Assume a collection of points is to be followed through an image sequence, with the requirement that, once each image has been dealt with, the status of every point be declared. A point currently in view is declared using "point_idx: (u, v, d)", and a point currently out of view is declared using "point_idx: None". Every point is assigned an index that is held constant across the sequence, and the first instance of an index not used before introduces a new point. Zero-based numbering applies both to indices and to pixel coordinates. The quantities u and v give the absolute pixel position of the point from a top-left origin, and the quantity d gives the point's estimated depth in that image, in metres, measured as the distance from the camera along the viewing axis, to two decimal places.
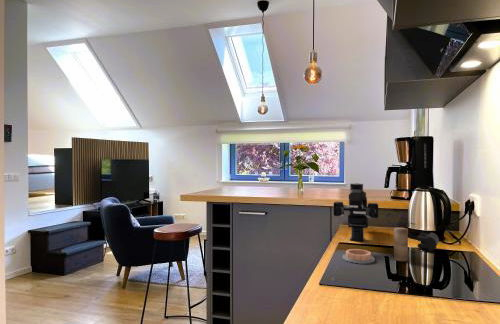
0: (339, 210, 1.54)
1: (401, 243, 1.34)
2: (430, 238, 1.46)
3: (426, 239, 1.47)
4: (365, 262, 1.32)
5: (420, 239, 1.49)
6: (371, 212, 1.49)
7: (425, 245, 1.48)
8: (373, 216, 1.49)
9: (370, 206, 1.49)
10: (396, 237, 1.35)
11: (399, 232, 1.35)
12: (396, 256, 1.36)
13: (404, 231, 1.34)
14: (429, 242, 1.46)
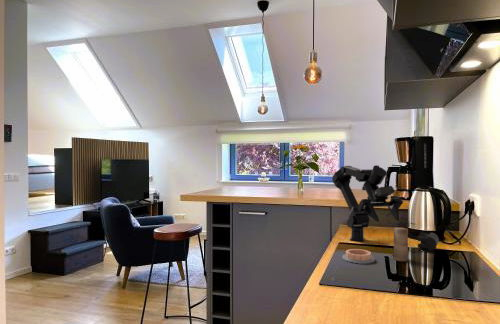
0: (367, 209, 1.48)
1: (401, 243, 1.34)
2: (430, 238, 1.46)
3: (426, 239, 1.47)
4: (365, 262, 1.32)
5: (420, 239, 1.49)
6: None
7: (425, 245, 1.48)
8: None
9: (397, 205, 1.48)
10: (396, 237, 1.35)
11: (399, 232, 1.35)
12: (396, 256, 1.36)
13: (404, 231, 1.34)
14: (429, 242, 1.46)
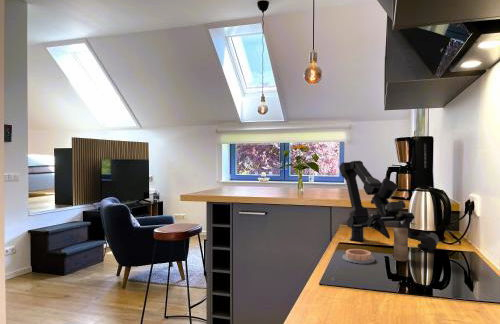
0: (377, 225, 1.41)
1: (401, 243, 1.34)
2: (430, 238, 1.46)
3: (426, 239, 1.47)
4: (365, 262, 1.32)
5: (420, 239, 1.49)
6: None
7: (425, 245, 1.48)
8: None
9: (409, 221, 1.41)
10: (396, 237, 1.36)
11: (399, 232, 1.35)
12: (396, 256, 1.36)
13: (404, 231, 1.34)
14: (429, 242, 1.46)
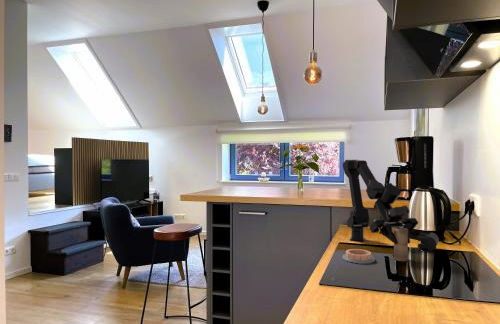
0: (384, 230, 1.39)
1: (401, 243, 1.34)
2: (430, 238, 1.46)
3: (426, 239, 1.47)
4: (365, 262, 1.32)
5: (420, 239, 1.49)
6: None
7: (425, 245, 1.48)
8: None
9: (408, 227, 1.39)
10: (396, 237, 1.36)
11: (399, 232, 1.35)
12: (396, 256, 1.36)
13: (404, 231, 1.34)
14: (429, 242, 1.46)
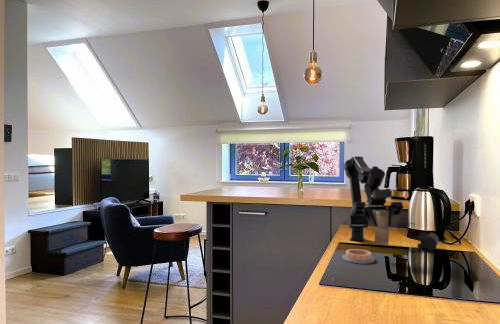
0: (366, 212, 1.39)
1: (380, 226, 1.34)
2: (430, 238, 1.46)
3: (426, 239, 1.47)
4: (365, 262, 1.32)
5: (420, 239, 1.49)
6: None
7: (425, 245, 1.48)
8: (391, 215, 1.40)
9: (391, 210, 1.37)
10: (375, 219, 1.35)
11: (378, 214, 1.34)
12: (376, 238, 1.35)
13: (383, 213, 1.33)
14: (429, 242, 1.46)
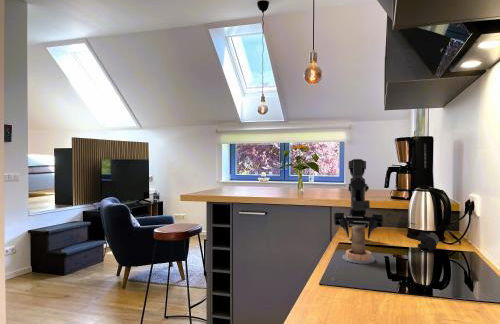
0: (343, 223, 1.42)
1: (354, 241, 1.35)
2: (430, 238, 1.46)
3: (426, 239, 1.47)
4: (365, 262, 1.32)
5: (420, 239, 1.49)
6: (373, 225, 1.39)
7: (425, 245, 1.48)
8: (375, 227, 1.40)
9: (372, 222, 1.37)
10: None
11: (353, 230, 1.36)
12: (352, 253, 1.37)
13: (357, 229, 1.34)
14: (429, 242, 1.46)
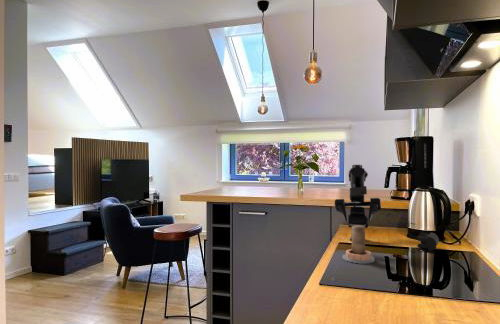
0: (341, 209, 1.52)
1: (354, 241, 1.36)
2: (430, 238, 1.46)
3: (426, 239, 1.47)
4: (365, 262, 1.32)
5: (420, 239, 1.49)
6: (373, 208, 1.48)
7: (425, 245, 1.48)
8: (376, 211, 1.48)
9: (372, 206, 1.46)
10: (352, 234, 1.37)
11: (353, 229, 1.36)
12: (352, 253, 1.37)
13: (357, 229, 1.35)
14: (429, 242, 1.46)
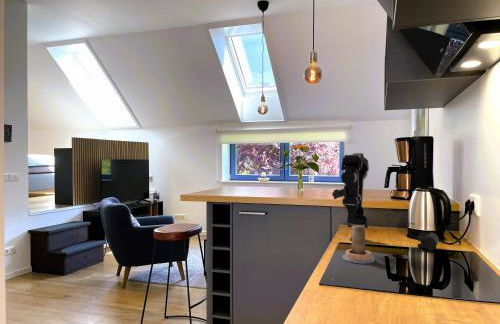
0: None
1: (354, 240, 1.36)
2: (430, 238, 1.46)
3: (426, 239, 1.47)
4: (365, 262, 1.32)
5: (420, 239, 1.49)
6: (351, 205, 1.49)
7: (425, 245, 1.48)
8: (355, 206, 1.47)
9: None
10: (352, 234, 1.37)
11: (353, 229, 1.36)
12: (352, 253, 1.37)
13: (358, 229, 1.35)
14: (429, 242, 1.46)
